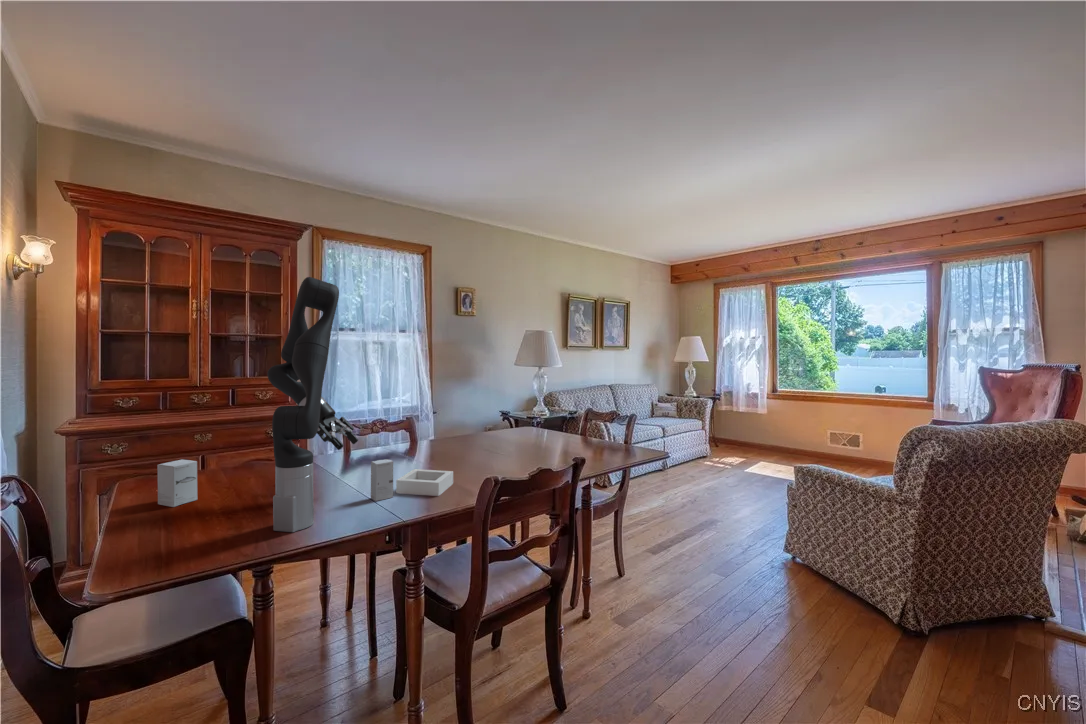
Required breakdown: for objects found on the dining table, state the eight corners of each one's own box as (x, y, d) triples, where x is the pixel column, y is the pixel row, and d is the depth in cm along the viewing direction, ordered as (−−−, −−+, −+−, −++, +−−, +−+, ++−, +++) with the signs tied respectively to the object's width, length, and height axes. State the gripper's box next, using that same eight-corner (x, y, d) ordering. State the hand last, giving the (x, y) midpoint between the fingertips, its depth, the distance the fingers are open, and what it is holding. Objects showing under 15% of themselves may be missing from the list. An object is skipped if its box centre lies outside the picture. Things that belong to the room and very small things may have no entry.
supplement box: (173, 507, 141) (172, 466, 141) (157, 504, 144) (156, 464, 143) (198, 500, 148) (197, 460, 148) (182, 497, 151) (181, 458, 150)
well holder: (438, 496, 155) (438, 482, 155) (396, 493, 157) (396, 480, 157) (453, 483, 169) (453, 471, 169) (414, 481, 171) (414, 469, 171)
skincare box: (375, 501, 149) (375, 464, 148) (370, 498, 152) (369, 461, 152) (394, 497, 153) (394, 460, 153) (387, 494, 156) (387, 458, 156)
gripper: (310, 404, 147) (344, 442, 146) (337, 399, 162) (367, 433, 160) (295, 420, 149) (328, 458, 147) (323, 413, 163) (353, 447, 161)
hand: (349, 445), depth 154 cm, fingers open, 8 cm apart
